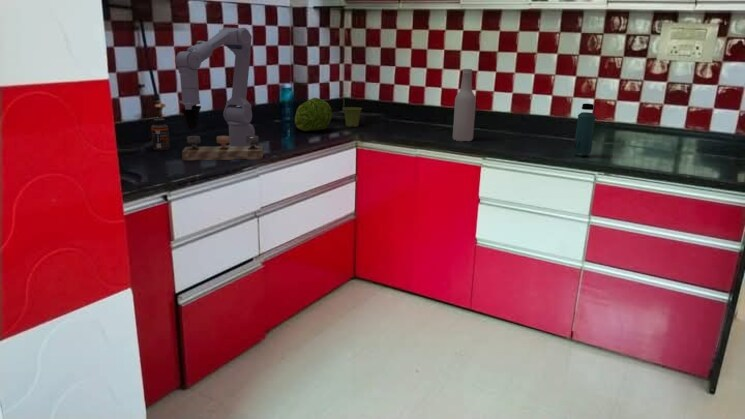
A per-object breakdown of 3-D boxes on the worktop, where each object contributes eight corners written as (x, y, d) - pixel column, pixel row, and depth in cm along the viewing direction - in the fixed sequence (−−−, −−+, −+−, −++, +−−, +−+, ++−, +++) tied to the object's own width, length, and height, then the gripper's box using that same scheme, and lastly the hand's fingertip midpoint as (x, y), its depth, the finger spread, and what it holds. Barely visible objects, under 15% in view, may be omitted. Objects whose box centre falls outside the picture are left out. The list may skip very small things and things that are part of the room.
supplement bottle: (162, 151, 206) (159, 120, 203) (149, 150, 208) (146, 119, 205) (173, 148, 211) (170, 118, 208) (160, 147, 214) (158, 117, 210)
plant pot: (338, 125, 274) (338, 108, 272) (351, 124, 281) (351, 106, 279) (352, 128, 268) (353, 109, 266) (365, 126, 275) (366, 108, 273)
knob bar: (182, 160, 193) (182, 151, 192) (186, 155, 201) (185, 146, 200) (262, 159, 197) (262, 150, 196) (263, 154, 206) (262, 146, 205)
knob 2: (246, 148, 197) (245, 137, 196) (246, 146, 202) (246, 135, 200) (258, 148, 198) (258, 137, 197) (259, 146, 202) (258, 135, 201)
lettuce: (288, 135, 267) (320, 137, 273) (301, 127, 244) (336, 129, 250) (288, 104, 267) (320, 106, 273) (301, 93, 244) (336, 95, 250)
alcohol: (449, 140, 242) (454, 68, 233) (456, 137, 250) (460, 68, 241) (469, 142, 238) (474, 69, 229) (475, 139, 246) (480, 69, 237)
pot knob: (216, 149, 196) (216, 137, 195) (217, 146, 200) (217, 135, 199) (229, 149, 196) (229, 137, 195) (230, 146, 201) (229, 135, 199)
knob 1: (186, 149, 194) (186, 138, 193) (188, 147, 198) (187, 135, 197) (200, 149, 195) (199, 137, 194) (201, 147, 199) (200, 135, 198)
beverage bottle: (593, 156, 215) (600, 103, 210) (586, 158, 211) (593, 105, 205) (576, 153, 220) (583, 102, 214) (569, 156, 215) (576, 103, 209)
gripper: (181, 86, 197) (184, 124, 201) (174, 89, 183) (177, 131, 187) (201, 86, 198) (204, 124, 202) (196, 90, 184) (199, 131, 188)
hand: (192, 128), depth 194 cm, fingers open, 3 cm apart
